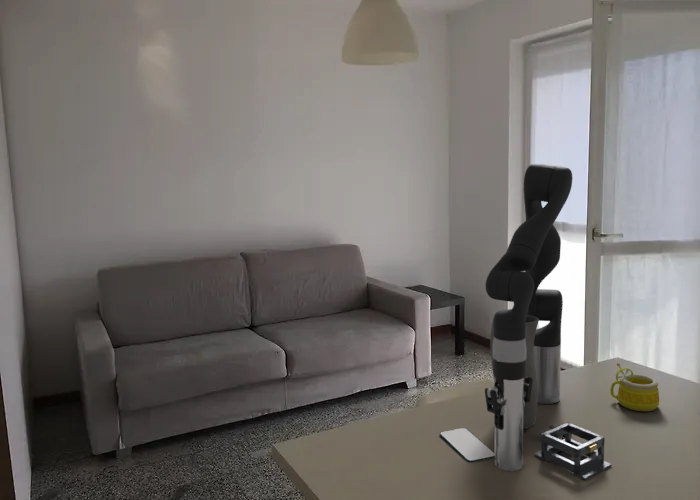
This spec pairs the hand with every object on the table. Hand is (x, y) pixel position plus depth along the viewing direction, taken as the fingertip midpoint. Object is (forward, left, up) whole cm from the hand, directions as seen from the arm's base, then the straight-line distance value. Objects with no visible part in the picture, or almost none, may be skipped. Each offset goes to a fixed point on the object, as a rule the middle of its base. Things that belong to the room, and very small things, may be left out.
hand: (508, 424), depth 139 cm
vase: (-13, +17, -10) cm, 24 cm away
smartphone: (-13, -1, -11) cm, 17 cm away
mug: (-1, +54, -10) cm, 55 cm away
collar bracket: (+8, +13, -10) cm, 18 cm away
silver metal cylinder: (0, 0, -10) cm, 10 cm away
